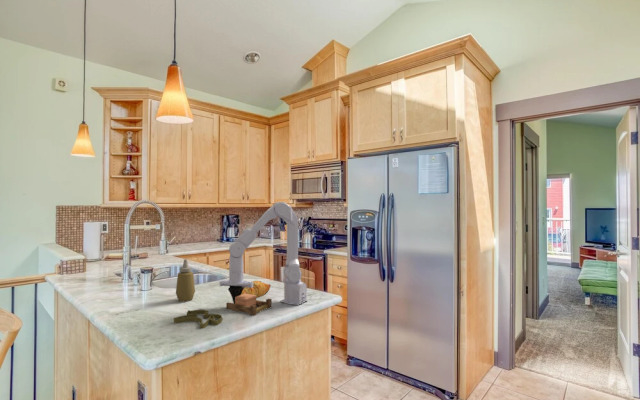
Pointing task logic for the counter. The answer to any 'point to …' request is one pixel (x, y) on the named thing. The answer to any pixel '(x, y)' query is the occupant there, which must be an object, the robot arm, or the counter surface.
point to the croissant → (256, 289)
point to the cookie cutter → (193, 317)
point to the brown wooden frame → (252, 309)
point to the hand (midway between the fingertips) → (236, 303)
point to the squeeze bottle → (185, 283)
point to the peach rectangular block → (246, 300)
